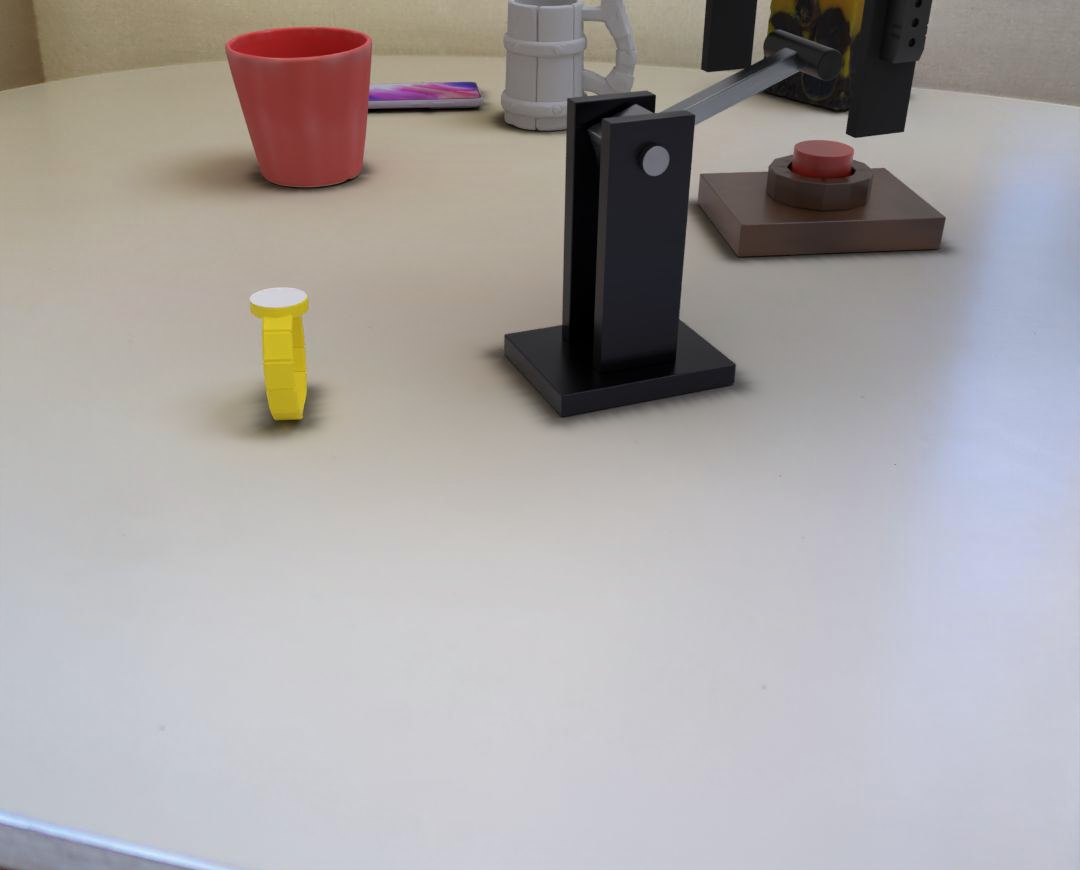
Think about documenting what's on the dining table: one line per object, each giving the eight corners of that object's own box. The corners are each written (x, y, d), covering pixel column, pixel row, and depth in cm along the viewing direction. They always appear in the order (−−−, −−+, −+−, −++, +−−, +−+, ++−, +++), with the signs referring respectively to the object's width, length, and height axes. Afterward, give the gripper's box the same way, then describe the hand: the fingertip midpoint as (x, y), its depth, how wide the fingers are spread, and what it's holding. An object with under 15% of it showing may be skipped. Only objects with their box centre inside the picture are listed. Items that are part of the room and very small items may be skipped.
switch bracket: (664, 326, 70) (682, 78, 62) (734, 384, 64) (764, 117, 56) (503, 353, 67) (501, 95, 59) (561, 417, 61) (568, 138, 53)
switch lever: (790, 60, 62) (782, 15, 61) (846, 82, 59) (839, 34, 57) (588, 165, 61) (575, 121, 60) (632, 194, 57) (619, 148, 56)
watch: (315, 436, 59) (302, 322, 55) (257, 437, 58) (241, 323, 55) (322, 380, 64) (311, 273, 60) (269, 382, 63) (255, 274, 60)
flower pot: (214, 186, 90) (194, 49, 85) (282, 147, 99) (268, 20, 94) (343, 201, 88) (332, 61, 82) (401, 160, 96) (395, 30, 91)
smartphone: (317, 84, 113) (476, 81, 115) (318, 94, 113) (477, 90, 115) (315, 102, 107) (483, 98, 109) (316, 112, 107) (484, 108, 109)
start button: (838, 164, 85) (842, 139, 84) (858, 181, 81) (862, 155, 80) (783, 166, 84) (786, 140, 83) (801, 183, 81) (805, 157, 80)
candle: (823, 76, 122) (838, -33, 116) (907, 96, 115) (927, -18, 110) (756, 91, 116) (767, -22, 110) (840, 113, 110) (857, -6, 104)
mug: (508, 107, 110) (508, -37, 104) (637, 113, 109) (645, -32, 102) (493, 129, 104) (491, -23, 97) (629, 137, 103) (637, -17, 96)
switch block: (880, 196, 90) (889, 142, 88) (940, 249, 81) (952, 190, 79) (697, 203, 88) (701, 147, 86) (737, 257, 79) (743, 197, 77)
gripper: (637, -419, 57) (618, 52, 69) (990, -492, 38) (881, 177, 50) (773, -413, 60) (732, 42, 72) (1169, -477, 41) (1024, 157, 52)
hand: (793, 99), depth 61 cm, fingers open, 13 cm apart
